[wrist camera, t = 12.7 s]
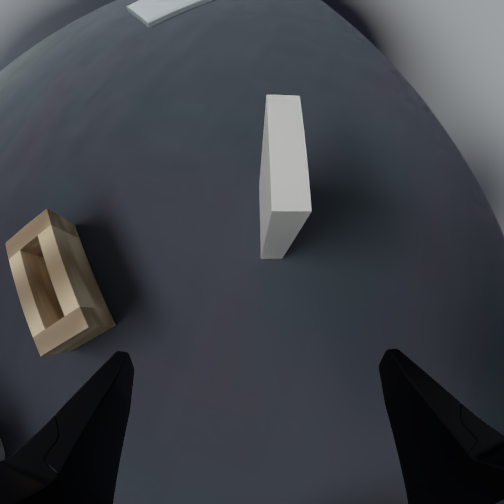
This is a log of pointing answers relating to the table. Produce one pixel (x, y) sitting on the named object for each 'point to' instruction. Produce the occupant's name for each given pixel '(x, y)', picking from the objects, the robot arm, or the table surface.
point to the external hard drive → (161, 9)
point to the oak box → (56, 285)
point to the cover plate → (283, 176)
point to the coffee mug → (2, 451)
